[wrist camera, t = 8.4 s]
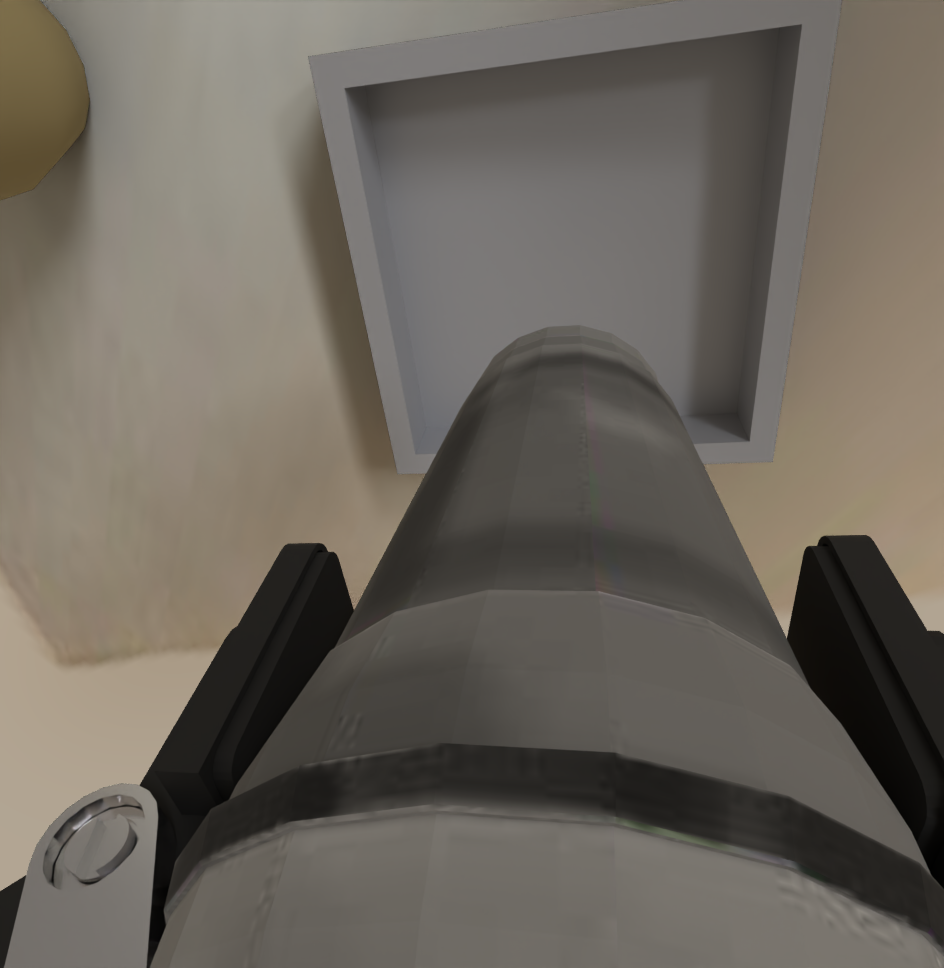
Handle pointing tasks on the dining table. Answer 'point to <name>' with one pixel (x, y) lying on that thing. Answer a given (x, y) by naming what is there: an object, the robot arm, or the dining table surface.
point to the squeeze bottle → (36, 94)
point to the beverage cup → (558, 730)
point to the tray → (585, 202)
